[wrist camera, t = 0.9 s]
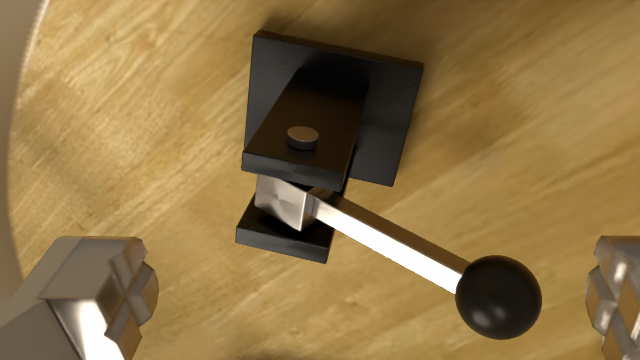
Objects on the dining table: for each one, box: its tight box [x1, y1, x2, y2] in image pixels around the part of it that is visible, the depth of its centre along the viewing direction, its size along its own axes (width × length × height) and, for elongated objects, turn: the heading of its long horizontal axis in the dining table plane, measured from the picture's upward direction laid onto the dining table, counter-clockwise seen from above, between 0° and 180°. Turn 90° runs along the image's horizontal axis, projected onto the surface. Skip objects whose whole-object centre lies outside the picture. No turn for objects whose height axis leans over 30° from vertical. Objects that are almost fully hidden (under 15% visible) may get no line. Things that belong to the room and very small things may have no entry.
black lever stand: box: [235, 30, 424, 264], centre depth 28 cm, size 10×8×12 cm
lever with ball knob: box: [254, 174, 542, 340], centre depth 23 cm, size 13×3×3 cm, turn 81°
